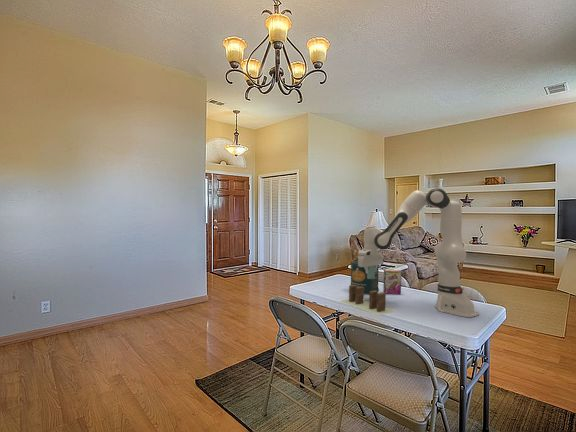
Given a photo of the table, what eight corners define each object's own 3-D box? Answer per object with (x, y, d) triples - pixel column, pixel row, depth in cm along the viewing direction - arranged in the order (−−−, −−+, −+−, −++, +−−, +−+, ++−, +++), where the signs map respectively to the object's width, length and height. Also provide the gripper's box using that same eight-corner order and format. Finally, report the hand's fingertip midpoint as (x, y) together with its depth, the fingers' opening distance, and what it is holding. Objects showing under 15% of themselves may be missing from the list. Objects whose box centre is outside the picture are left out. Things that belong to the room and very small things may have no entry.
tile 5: (357, 300, 195) (357, 285, 194) (351, 302, 192) (351, 286, 192) (354, 300, 196) (354, 284, 196) (349, 301, 193) (349, 285, 193)
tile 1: (385, 310, 176) (385, 293, 176) (379, 311, 173) (379, 294, 173) (382, 309, 178) (382, 292, 178) (376, 311, 175) (376, 293, 175)
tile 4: (363, 303, 190) (363, 287, 190) (357, 304, 187) (358, 288, 187) (361, 302, 192) (361, 286, 192) (355, 303, 189) (355, 287, 189)
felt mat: (396, 311, 176) (396, 310, 176) (378, 316, 168) (378, 315, 168) (356, 298, 202) (356, 297, 202) (339, 301, 194) (339, 301, 194)
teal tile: (374, 278, 201) (374, 262, 201) (369, 279, 198) (369, 263, 198) (372, 277, 202) (372, 262, 202) (367, 278, 200) (366, 263, 200)
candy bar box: (384, 294, 213) (385, 270, 213) (383, 292, 218) (383, 269, 218) (401, 294, 212) (401, 271, 212) (399, 292, 217) (399, 269, 217)
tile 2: (377, 307, 181) (377, 291, 181) (371, 309, 178) (372, 292, 178) (375, 307, 182) (375, 290, 182) (369, 308, 180) (369, 291, 180)
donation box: (378, 291, 219) (379, 252, 219) (367, 296, 208) (368, 254, 207) (358, 287, 230) (358, 250, 230) (347, 291, 218) (347, 252, 218)
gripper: (377, 249, 208) (377, 270, 209) (356, 252, 197) (356, 273, 197) (385, 250, 203) (385, 271, 203) (363, 253, 192) (363, 275, 192)
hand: (370, 272), depth 200 cm, fingers closed on teal tile, 5 cm apart
